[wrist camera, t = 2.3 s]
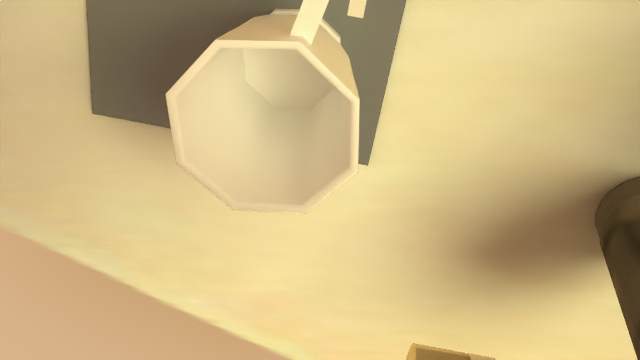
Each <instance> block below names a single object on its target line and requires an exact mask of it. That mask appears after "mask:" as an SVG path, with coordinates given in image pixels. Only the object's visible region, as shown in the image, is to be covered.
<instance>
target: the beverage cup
mask: <svg viewBox="0 0 640 360" xmlns="http://www.w3.org/2000/svg"><path fill="white" fill-rule="evenodd" d="M595 225H596V227H597V230H598V234H599V237H600V245H601V248H602V251H603V254H604V257H605V260H606V264H607V267H608V270H609V273H610V276H611V279H612V282H613V285H614V288H615V291H616V294H617V297H618V300H619V303H620V306H621V309H622V313H623V316H624V319H625V322H626V325H627V328H628V331H629V334H630V337H631V340H632V343H633V346H634V349H635V352H636V355H637V358H638V360H640V177H637V178H635V179H632V180H629V181H626V182H623V183H622V184H620V185H619V186H617V187H615V188H614V189H612V190H611V191H610V192H609V193H608V194H607V195H606V196H605V197H604V198H603V200H602V201H601V202H600V204H599V207H598V209H597V211H596V218H595Z"/></svg>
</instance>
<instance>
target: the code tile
mask: <svg viewBox="0 0 640 360" xmlns="http://www.w3.org/2000/svg"><path fill="white" fill-rule="evenodd" d="M302 2H303V0H87V16H88V35H89V54H90V74H91V93H92V112H93V114H97V115H103V116H108V117H113V118H119V119H124V120H129V121H135V122H140V123H145V124H150V125H156V126H161V127H166V128H171V126H170V120H169V113H168V107H167V101H166V93H167V92H168V91H169V90H170V89H171V87H172V86H173V85H174V84H175V83H176V82H177V81H178V80H179V79H180V78H181V77H182V75H183V74H184V73H185V72H186V71H187V70H188V69H189V68H190V67H191V66H192V64H193V63H194V62H195V61H196V60H197V59H198V58H199V57H200V56H201V55H202V54H203V52H204V51H205V50H206V49H207V48H208V47H209V46H210V45H211V44H212V43H213V42H214V40H216V39H217V38H219V37H221V36H222V35H224V34H226V33H227V32H229V31H231V30H233V29H235V28H237V27H239V26H240V25H242V24H244V23H245V22H247V21H248V20H250V19H252V18H253V17H257V16H263V15H269V14H271V13H272V12H273V11H274V9H300V8H301V5H302ZM405 3H406V0H329V2H328V5H327V7H326V9H325V12H324V14H323V17H322V18H323V19H324V20H325V21H326V22H327V23H328V24H329V25H330V26H331V27H332V28H333V29H334V30H335V31H336V32H337V33H338V34H339V35H340V36H341V46H342V47H343V49H344V50H345V52H346V53H347V55H348V56H349V59H350V64H351V68H352V73H353V77H354V80H355V83H356V87H357V91H358V95H359V99H360V104H359V148H358V164H362V165H368V163H369V159H370V154H371V150H372V146H373V141H374V137H375V133H376V128H377V124H378V120H379V115H380V111H381V107H382V102H383V98H384V94H385V89H386V85H387V81H388V76H389V72H390V68H391V63H392V59H393V55H394V50H395V46H396V42H397V37H398V33H399V29H400V24H401V20H402V16H403V11H404V7H405Z"/></svg>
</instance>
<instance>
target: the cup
mask: <svg viewBox="0 0 640 360" xmlns="http://www.w3.org/2000/svg"><path fill="white" fill-rule="evenodd" d="M328 2H329V0H303V2H302V5H301V8H300V9H274V11H273V12H272V13H271V14H269V15H263V16H257V17H253V18H252V19H250V20H248V21H247V22H245V23H244V24H242V25H240V26H239V27H237V28H235V29H233V30H231V31H229V32H227V33H226V34H224V35H222V36H221V37H219V38H217V39H216V40H214V42H213V43H212V44H211V45H210V46H209V47H208V48H207V49H206V50H205V51H204V52H203V54H202V55H201V56H200V57H199V58H198V59H197V60H196V61H195V62H194V63H193V64H192V66H191V67H190V68H189V69H188V70H187V71H186V72H185V73H184V74H183V75H182V77H181V78H180V79H179V80H178V81H177V82H176V83H175V84H174V85H173V86H172V87H171V89H170V90H169V91H168V92H167V93H166V101H167V107H168V113H169V120H170V126H171V132H172V138H173V145H174V151H175V157H176V164H177V165H179V166H180V167H181V168H182V169H183V170H185V171H186V172H187V173H188V174H190V175H191V176H192V177H193V178H194V179H196V180H197V181H198V182H199V183H201V184H202V185H203V186H204V187H205V188H207V189H208V190H209V191H210V192H212V193H213V194H214V195H215V196H216V197H218V198H219V199H220V200H221V201H223V202H224V203H225V204H226V205H227V206H229V207H230V208H231V209H232V210H237V211H257V212H278V213H299V214H306V213H307V212H308V211H309V210H311V209H312V208H313V207H314V206H315V205H317V204H318V203H319V202H320V201H322V200H323V199H324V198H325V197H327V196H328V195H329V194H330V193H332V192H333V191H334V190H335V189H337V188H338V187H339V186H340V185H342V184H343V183H344V182H345V181H347V180H348V179H349V178H350V177H352V176H353V175H354V174H355V173H357V172H358V148H359V104H360V99H359V95H358V91H357V87H356V83H355V80H354V77H353V73H352V68H351V64H350V59H349V56H348V55H347V53H346V52H345V50H344V49H343V47H342V46H341V36H340V35H339V34H338V33H337V32H336V31H335V30H334V29H333V28H332V27H331V26H330V25H329V24H328V23H327V22H326V21H325V20H324V19H323V18H322V17H323V14H324V12H325V9H326V7H327V5H328Z"/></svg>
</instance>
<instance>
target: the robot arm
mask: <svg viewBox="0 0 640 360" xmlns="http://www.w3.org/2000/svg"><path fill="white" fill-rule="evenodd" d="M407 360H495V358H491V357H485V356H480V355H474V354H469V353H467V354H466V353H463V352H458V351H452V350H447V349H441V348H436V347H430V346H425V345H419V344H414V343H413V344H412V346H411V347H410V349H409V352H408V355H407Z"/></svg>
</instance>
